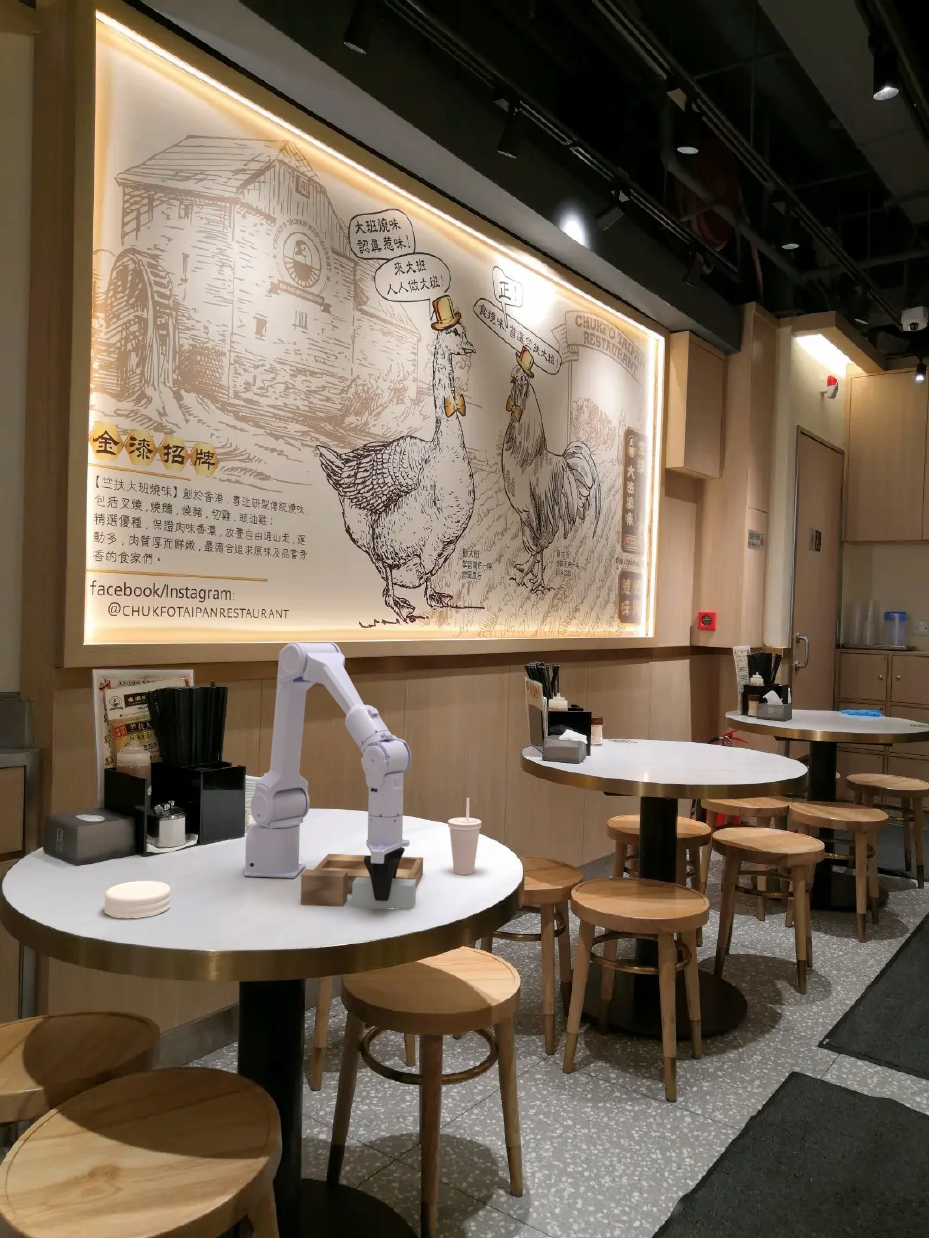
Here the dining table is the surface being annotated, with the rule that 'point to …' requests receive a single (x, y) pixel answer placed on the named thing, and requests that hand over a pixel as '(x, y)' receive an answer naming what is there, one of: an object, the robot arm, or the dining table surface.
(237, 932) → the dining table surface
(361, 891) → the grey square post
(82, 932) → the dining table surface
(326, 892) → the brown wooden block
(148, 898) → the coaster
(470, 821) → the smoothie
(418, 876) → the jig
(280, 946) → the dining table surface
